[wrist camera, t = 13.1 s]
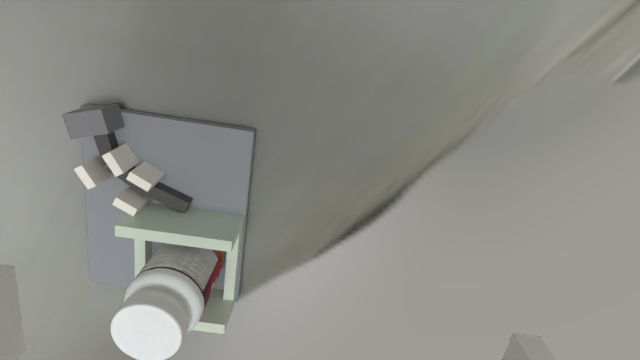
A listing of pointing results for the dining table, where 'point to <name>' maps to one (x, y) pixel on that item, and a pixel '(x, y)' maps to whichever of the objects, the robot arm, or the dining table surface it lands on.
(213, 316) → the end holder
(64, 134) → the dining table surface
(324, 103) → the dining table surface
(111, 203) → the board
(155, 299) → the pill bottle
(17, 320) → the robot arm
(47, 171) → the dining table surface
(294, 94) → the dining table surface
